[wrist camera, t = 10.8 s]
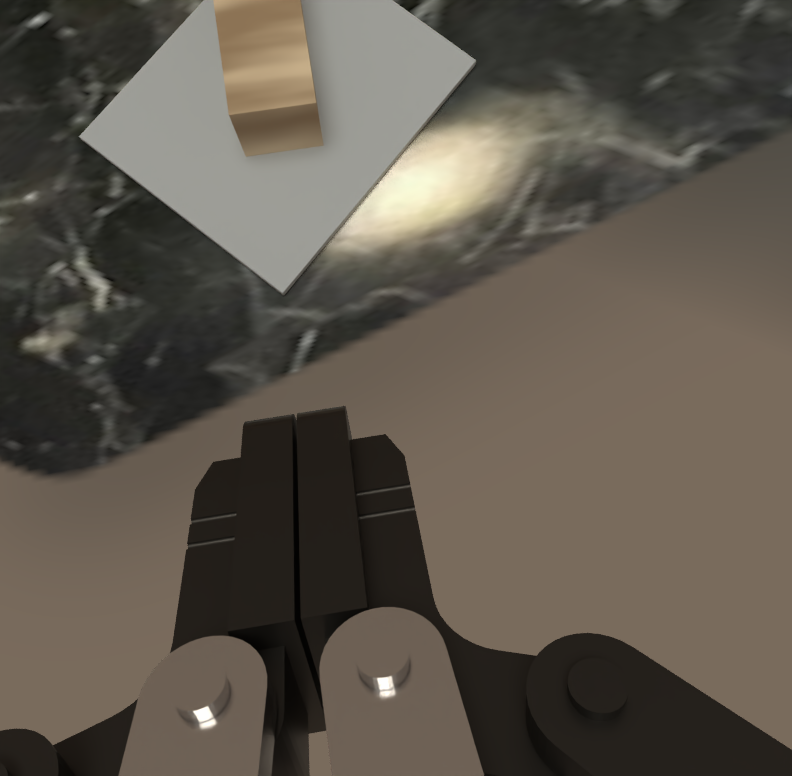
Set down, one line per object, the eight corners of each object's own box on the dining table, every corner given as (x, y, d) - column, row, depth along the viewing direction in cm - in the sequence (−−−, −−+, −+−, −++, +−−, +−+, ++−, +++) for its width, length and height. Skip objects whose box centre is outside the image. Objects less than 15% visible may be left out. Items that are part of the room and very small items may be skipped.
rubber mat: (283, 295, 40) (282, 293, 39) (82, 140, 41) (79, 136, 40) (475, 65, 42) (476, 60, 42) (279, -75, 43) (278, -82, 43)
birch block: (316, 102, 36) (279, -135, 38) (228, 114, 36) (196, -125, 38) (323, 145, 41) (290, -70, 43) (245, 156, 40) (215, -60, 42)
